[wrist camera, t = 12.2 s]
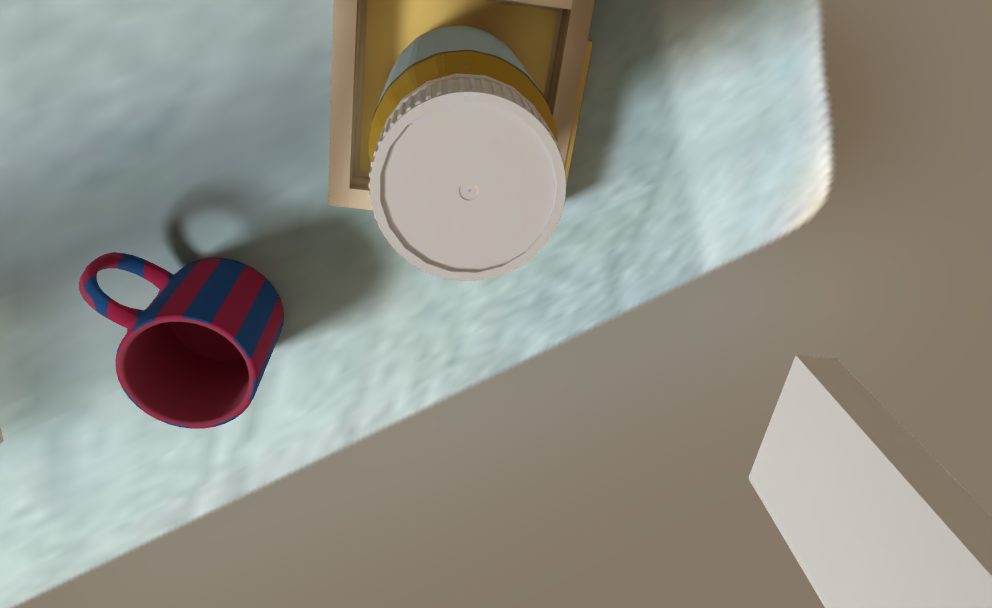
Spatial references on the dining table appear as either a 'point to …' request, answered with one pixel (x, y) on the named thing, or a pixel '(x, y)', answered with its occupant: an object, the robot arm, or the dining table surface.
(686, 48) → the dining table surface
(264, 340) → the mug
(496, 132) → the bottle
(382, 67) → the caddy
